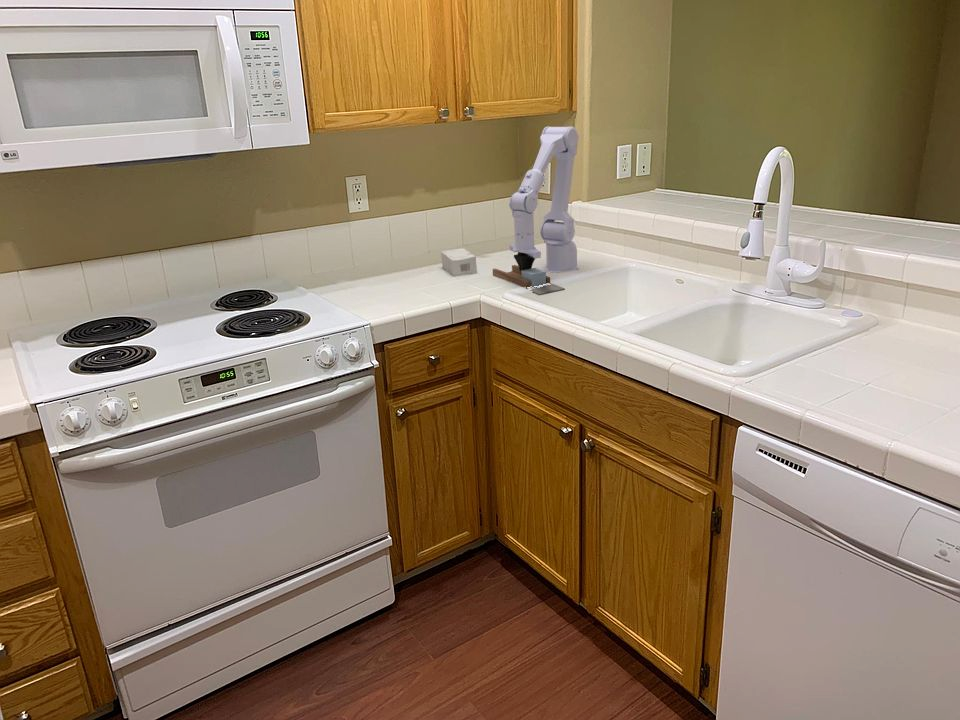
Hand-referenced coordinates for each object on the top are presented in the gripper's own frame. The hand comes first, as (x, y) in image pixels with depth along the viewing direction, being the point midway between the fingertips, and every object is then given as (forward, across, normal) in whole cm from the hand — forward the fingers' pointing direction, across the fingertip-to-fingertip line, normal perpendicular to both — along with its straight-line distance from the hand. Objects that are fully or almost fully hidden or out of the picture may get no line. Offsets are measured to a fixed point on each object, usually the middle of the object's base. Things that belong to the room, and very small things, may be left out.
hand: (525, 277), depth 222 cm
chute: (+2, +1, 0) cm, 2 cm away
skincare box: (-1, -19, -11) cm, 22 cm away
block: (+1, +4, 0) cm, 5 cm away
